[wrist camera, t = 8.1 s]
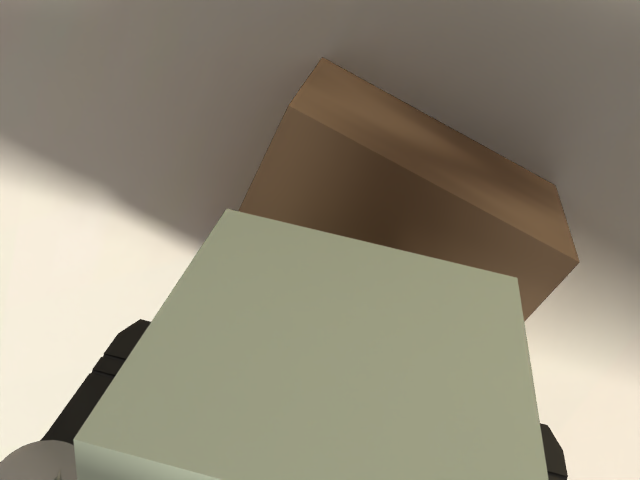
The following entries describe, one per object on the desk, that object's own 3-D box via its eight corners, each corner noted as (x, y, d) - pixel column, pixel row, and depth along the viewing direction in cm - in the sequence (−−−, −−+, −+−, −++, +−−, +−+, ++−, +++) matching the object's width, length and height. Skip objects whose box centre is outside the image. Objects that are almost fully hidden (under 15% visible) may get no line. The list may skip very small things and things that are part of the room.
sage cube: (517, 278, 11) (562, 571, 6) (437, 466, 14) (429, 760, 9) (226, 208, 11) (73, 439, 7) (208, 406, 14) (94, 660, 10)
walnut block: (554, 181, 16) (579, 261, 13) (419, 345, 20) (412, 441, 17) (324, 54, 16) (288, 105, 12) (229, 249, 20) (183, 328, 16)
